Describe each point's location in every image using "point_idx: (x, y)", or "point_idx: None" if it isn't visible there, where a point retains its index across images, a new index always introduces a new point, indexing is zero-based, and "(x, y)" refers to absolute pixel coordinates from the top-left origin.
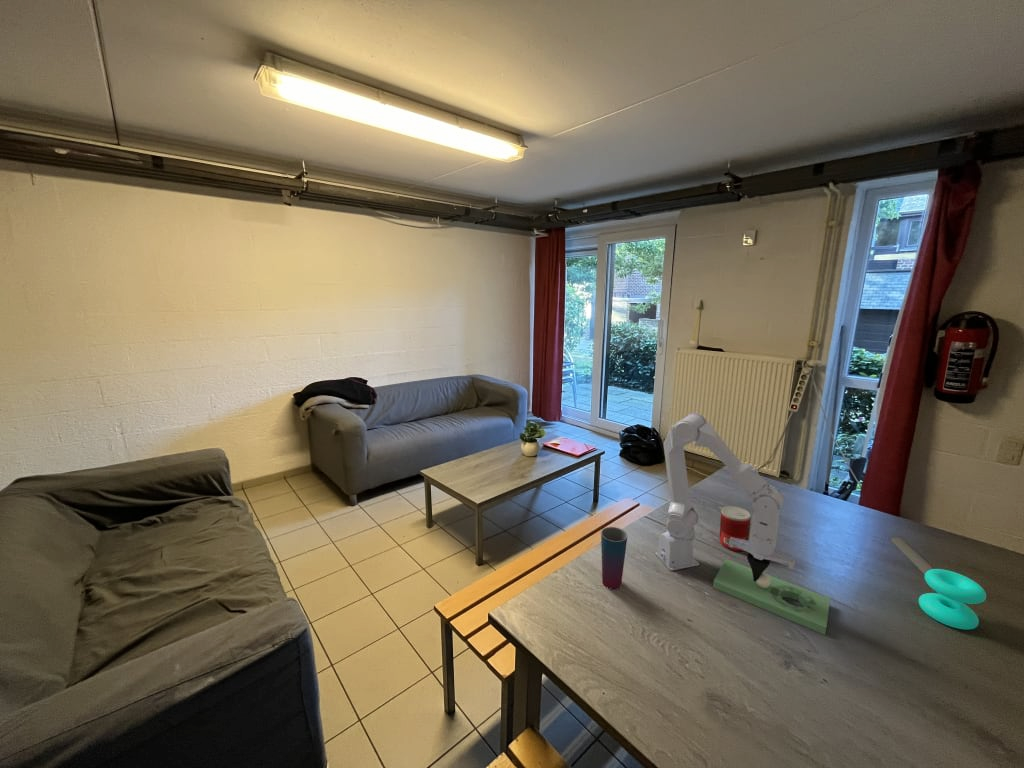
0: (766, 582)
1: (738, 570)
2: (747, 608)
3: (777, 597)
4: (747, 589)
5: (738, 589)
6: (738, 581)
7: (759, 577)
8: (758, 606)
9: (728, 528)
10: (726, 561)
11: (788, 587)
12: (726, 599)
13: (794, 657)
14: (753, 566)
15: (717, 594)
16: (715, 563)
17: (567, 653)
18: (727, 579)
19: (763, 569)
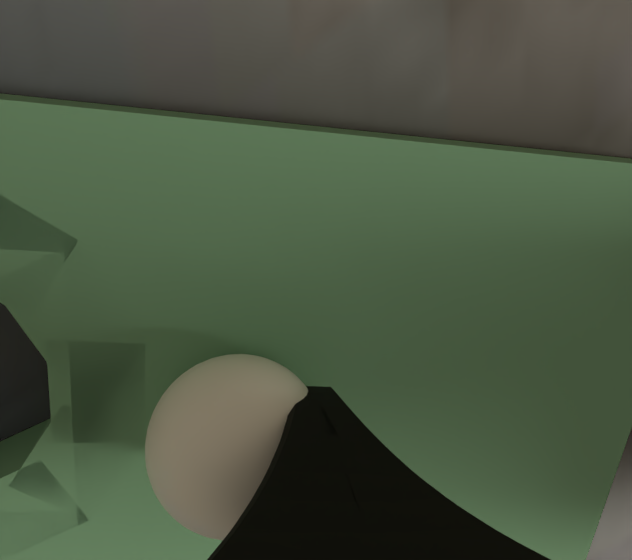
0: (186, 405)
1: (468, 497)
2: (331, 14)
3: (59, 301)
4: (373, 242)
5: (465, 181)
6: (466, 327)
7: (281, 434)
8: (234, 118)
9: None
10: (571, 555)
11: (1, 533)
12: (535, 39)
13: None
14: (433, 525)
15: (618, 70)
16: (611, 506)
17: None
18: (574, 292)
19: (242, 541)
